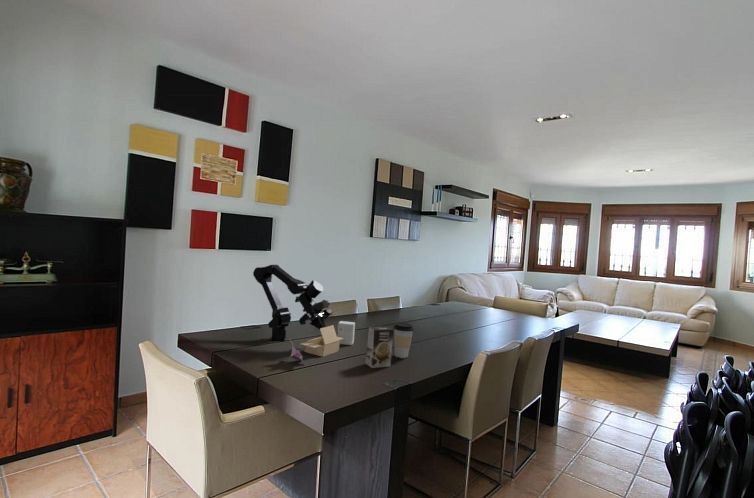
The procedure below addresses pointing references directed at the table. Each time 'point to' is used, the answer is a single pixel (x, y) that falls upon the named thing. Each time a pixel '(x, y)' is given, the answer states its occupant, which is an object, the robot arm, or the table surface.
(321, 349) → the carton
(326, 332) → the flap
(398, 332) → the coffee cup
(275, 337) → the robot arm
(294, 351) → the lily
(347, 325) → the small box
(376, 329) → the coffee box
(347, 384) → the table surface
